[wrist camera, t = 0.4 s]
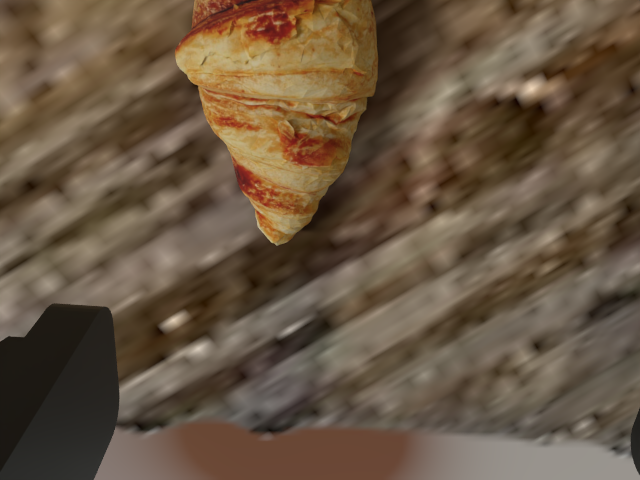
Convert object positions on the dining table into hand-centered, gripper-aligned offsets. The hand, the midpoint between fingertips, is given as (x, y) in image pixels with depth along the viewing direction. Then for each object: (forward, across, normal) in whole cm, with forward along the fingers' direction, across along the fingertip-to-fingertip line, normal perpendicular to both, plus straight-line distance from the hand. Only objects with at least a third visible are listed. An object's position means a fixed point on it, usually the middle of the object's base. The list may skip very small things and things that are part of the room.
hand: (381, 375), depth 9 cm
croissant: (+27, +3, 0) cm, 28 cm away
